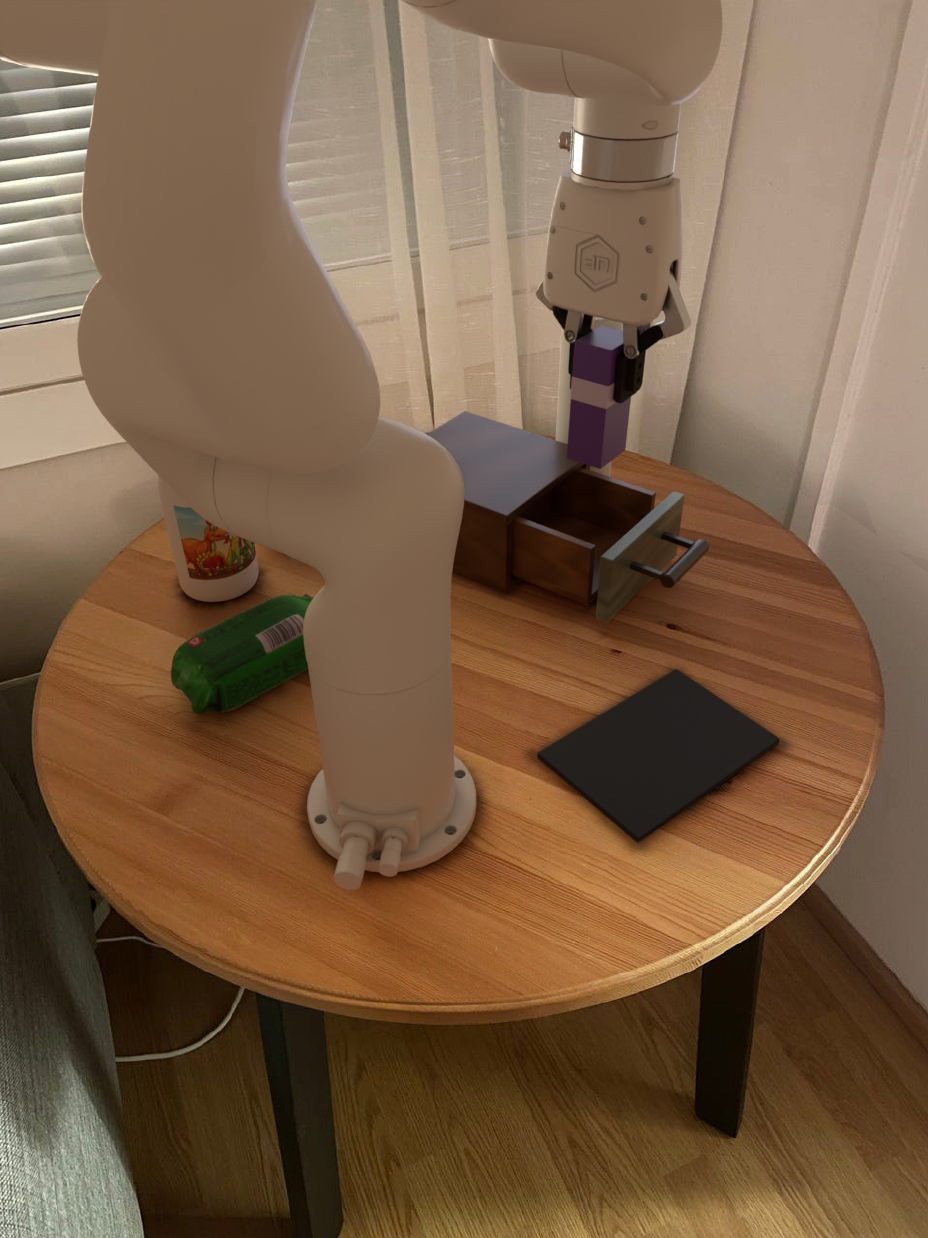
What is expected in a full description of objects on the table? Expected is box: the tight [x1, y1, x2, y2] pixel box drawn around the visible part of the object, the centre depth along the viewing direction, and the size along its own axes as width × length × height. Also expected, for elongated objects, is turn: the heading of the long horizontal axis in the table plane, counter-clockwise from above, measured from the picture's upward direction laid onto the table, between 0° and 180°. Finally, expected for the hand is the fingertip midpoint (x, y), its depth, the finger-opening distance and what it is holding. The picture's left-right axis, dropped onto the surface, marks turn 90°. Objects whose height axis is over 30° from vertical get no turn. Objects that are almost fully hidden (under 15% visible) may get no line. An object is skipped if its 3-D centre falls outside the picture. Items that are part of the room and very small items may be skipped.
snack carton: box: [567, 326, 632, 469], centre depth 85 cm, size 4×4×10 cm
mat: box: [536, 668, 780, 844], centre depth 79 cm, size 16×11×1 cm
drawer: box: [511, 467, 710, 624], centre depth 96 cm, size 19×14×7 cm
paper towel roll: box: [555, 317, 623, 477], centre depth 104 cm, size 7×6×21 cm
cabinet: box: [426, 410, 590, 594], centre depth 102 cm, size 16×15×9 cm
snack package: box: [170, 593, 314, 716], centre depth 86 cm, size 7×16×5 cm, turn 131°
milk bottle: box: [156, 473, 260, 603], centre depth 93 cm, size 8×8×20 cm
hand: (603, 388), depth 84 cm, fingers closed on snack carton, 3 cm apart
